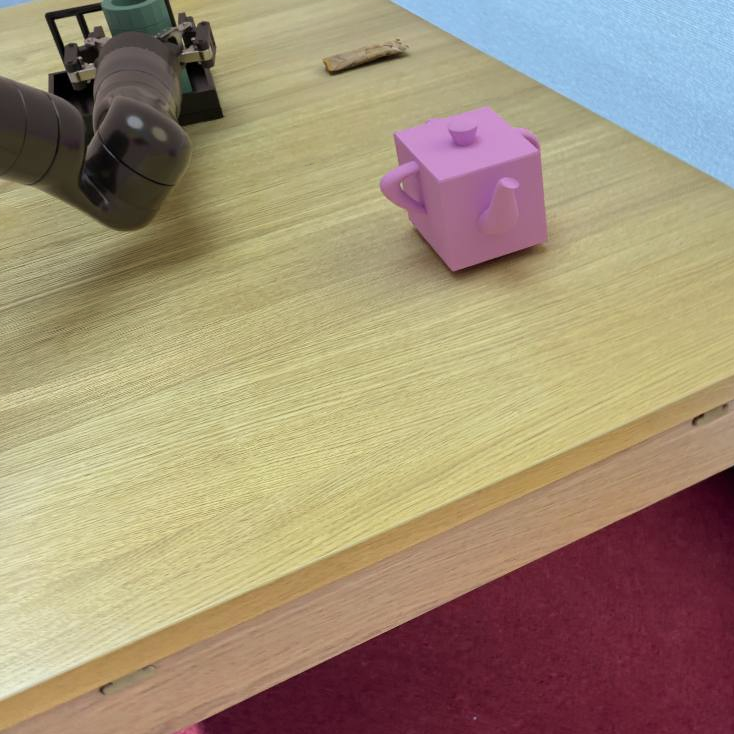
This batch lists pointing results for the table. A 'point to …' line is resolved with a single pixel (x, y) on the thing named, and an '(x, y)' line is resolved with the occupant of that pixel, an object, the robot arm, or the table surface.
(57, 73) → the dish rack
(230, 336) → the table surface
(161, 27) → the jar
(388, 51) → the snack bar
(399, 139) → the teapot
